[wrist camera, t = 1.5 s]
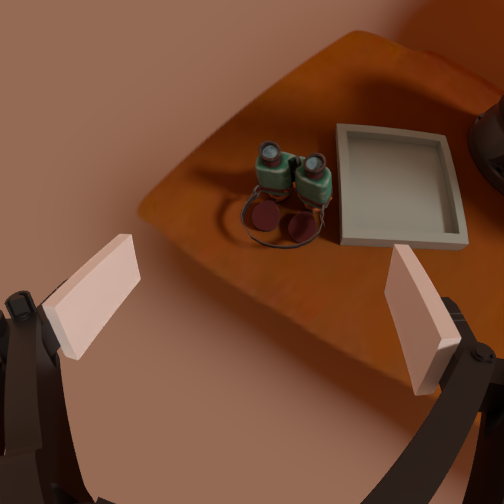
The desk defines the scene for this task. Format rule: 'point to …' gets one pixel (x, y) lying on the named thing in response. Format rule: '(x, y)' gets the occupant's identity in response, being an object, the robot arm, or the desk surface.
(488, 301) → the desk surface
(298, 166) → the binoculars
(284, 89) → the desk surface
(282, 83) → the desk surface
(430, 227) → the tray
